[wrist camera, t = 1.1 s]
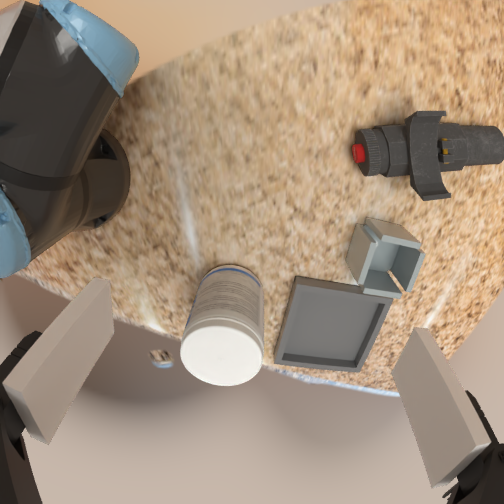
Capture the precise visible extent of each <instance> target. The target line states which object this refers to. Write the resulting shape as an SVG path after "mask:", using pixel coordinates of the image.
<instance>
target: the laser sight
mask: <svg viewBox="0 0 504 504" xmlns="http://www.w3.org/2000/svg"><path fill="white" fill-rule="evenodd" d="M442 116H446V111H416V112H415V113H413V114H412V115H411V116H409V117H408V118H406V119H405V124H398V125H383V126H374V129H360V130H358V131H357V132H356V138H355V139H356V140H355V143H356V144H355V145H353V146H352V153H353V158H354V161H355V162H356V163H359V167H360V169H361V172H362V173H363V175H364V176H374V175H378V174H381V175H383V176H385V177H395V176H404V175H410V185H411V187H412V188H413V189H414V190H415V191H416V192H417V194H418V195H419V196H420V197H421V199H422V200H423V201H429V200H437V199H445V198H451V193H448V191H447V190H446V188H445V186H444V184H443V182H442V177H441V173H440V172H446V171H458V170H462V169H463V167H464V166H472V165H487V164H500V163H501V162H502V161H503V160H504V136H503V134H502V133H501V131H500V130H499V129H498V128H497V127H495V126H464V125H463V126H460V125H459V124H456V123H439V121H440V119H441V117H442Z"/></svg>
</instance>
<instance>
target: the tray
mask: <svg viewBox="0 0 504 504" xmlns="http://www.w3.org/2000/svg"><path fill="white" fill-rule="evenodd" d="M392 301H393V298H390V297H383V296H377V295H370V294H364V293H363V292H362V290H361V288H360V286H355V285H349V284H343V283H337V282H331V281H325V280H319V279H313V278H307V277H301V276H295V280H294V283H293V287H292V291H291V295H290V298H289V302H288V306H287V309H286V313H285V316H284V320H283V324H282V327H281V331H280V334H279V338H278V341H277V345H276V348H275V351H274V364H280V365H287V366H296V367H304V368H313V369H323V370H334V371H346V372H360V370H361V368H362V366H363V364H364V362H365V360H366V358H367V356H368V354H369V352H370V350H371V348H372V346H373V344H374V342H375V340H376V338H377V335H378V333H379V331H380V329H381V327H382V324H383V322H384V320H385V318H386V315H387V313H388V311H389V308H390V306H391V304H392Z"/></svg>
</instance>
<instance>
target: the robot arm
mask: <svg viewBox="0 0 504 504" xmlns="http://www.w3.org/2000/svg"><path fill="white" fill-rule="evenodd" d="M39 3H40V5H35V4H32V3H29V2H26V1H24V0H20V1H18V2H16V3H14V4H12V5H10V6H8V7H6V8H4V9H2V10H0V278H6V277H9V276H10V275H12V274H14V273H16V272H17V271H19V270H21V269H24V268H25V267H27V266H28V264H29V262H31V261H32V260H33V259H35V258H36V257H37V256H39V255H40V254H41V253H43V252H44V251H45V250H47V249H48V248H49V247H51V246H52V245H53V244H55V243H56V242H57V241H59V240H60V239H62V238H63V237H64V236H66V235H67V234H69V233H70V232H72V231H85V230H92V229H95V228H98V227H100V226H102V225H104V224H105V223H107V222H108V221H109V220H111V219H112V218H113V217H114V216H116V214H117V213H118V212H119V211H120V210H121V208H122V207H123V205H124V203H125V201H126V198H127V195H128V192H129V186H130V169H129V164H128V160H127V157H126V154H125V152H124V150H123V148H122V147H121V145H120V144H119V142H118V141H117V140H116V139H115V138H114V137H113V136H112V135H111V134H110V133H109V132H107V131H106V130H104V129H102V128H103V126H104V125H105V123H106V121H107V119H108V117H109V115H110V114H111V112H112V110H113V108H114V107H115V105H116V103H117V101H118V100H119V98H122V97H123V95H124V92H123V90H124V89H125V87H126V85H127V83H128V81H129V80H130V77H131V76H132V74H133V73H134V71H135V69H136V67H137V65H138V63H139V52H138V49H137V47H136V46H135V45H134V44H133V43H132V42H131V41H130V40H129V39H128V38H127V37H125V36H124V35H123V34H121V33H120V32H119V31H117V30H116V29H115V28H113V27H112V26H111V25H109V24H108V23H106V22H105V21H103V20H102V19H100V18H98V17H97V16H96V15H94V14H92V13H91V12H89V11H87V10H86V9H84V8H82V7H79V6H78V5H77V4H75V3H73V2H71V1H69V0H40V1H39ZM113 334H114V325H113V313H112V301H111V287H110V280H106V279H101V278H97V277H94V278H93V279H92V280H91V281H90V282H89V283H88V284H87V285H86V286H85V287H84V288H83V290H82V291H81V292H80V293H79V294H78V295H77V296H76V297H75V298H74V299H73V300H72V301H71V302H70V303H69V305H68V306H67V307H66V308H65V309H64V310H63V311H62V312H61V313H60V315H59V316H58V317H57V318H56V319H55V320H54V321H53V322H52V324H51V325H50V326H49V327H48V328H47V329H46V330H45V331H44V333H40V332H38V331H34V332H33V333H31V334H29V335H27V336H26V337H24V338H23V339H22V341H21V342H20V343H19V344H18V345H17V348H15V349H14V350H13V351H12V352H11V355H9V356H8V357H7V358H6V359H5V360H4V361H3V363H2V364H1V365H0V504H42V501H41V498H40V495H39V492H38V489H37V486H36V483H35V480H34V476H33V473H32V469H31V466H30V462H29V458H28V455H27V451H26V447H25V442H24V439H23V436H22V434H21V433H22V432H23V430H24V428H26V429H27V431H28V433H29V434H30V436H31V437H33V438H35V439H37V440H39V441H41V442H43V443H45V444H47V445H49V443H50V442H51V440H52V438H53V436H54V434H55V432H56V430H57V429H58V427H59V425H60V423H61V421H62V419H63V418H64V416H65V414H66V412H67V411H68V409H69V407H70V405H71V404H72V402H73V400H74V398H75V396H76V395H77V393H78V391H79V390H80V388H81V386H82V385H83V383H84V381H85V380H86V378H87V376H88V374H89V373H90V371H91V370H92V368H93V366H94V365H95V363H96V361H97V360H98V358H99V356H100V355H101V353H102V352H103V350H104V348H105V347H106V345H107V344H108V342H109V340H110V339H111V337H112V336H113ZM391 374H392V376H393V379H394V381H395V384H396V386H397V389H398V391H399V394H400V397H401V399H402V402H403V404H404V407H405V410H406V412H407V415H408V418H409V421H410V424H411V426H412V429H413V432H414V435H415V437H416V441H417V444H418V447H419V450H420V452H421V456H422V459H423V462H424V465H425V468H426V471H427V474H428V478H429V481H430V484H431V487H432V488H435V487H440V486H444V485H447V484H448V483H450V482H451V481H452V480H453V479H454V478H455V477H456V476H457V479H458V483H457V484H456V485H454V486H453V487H452V488H451V489H450V490H448V491H447V492H446V493H445V494H444V495H443V498H445V497H446V496H448V495H449V494H450V493H451V495H450V497H449V498H448V499H447V500H448V502H447V504H504V444H499V442H498V441H497V438H496V437H495V434H494V432H493V430H492V428H491V427H490V424H489V423H488V421H487V419H486V417H484V413H483V411H482V410H481V409H480V408H481V407H480V406H479V404H478V402H477V400H476V398H475V397H474V396H473V395H472V394H471V393H470V392H469V391H465V390H464V388H463V387H462V385H461V383H460V381H459V379H458V378H457V376H456V374H455V373H454V371H453V369H452V367H451V366H450V364H449V362H448V361H447V359H446V357H445V356H444V354H443V352H442V351H441V349H440V347H439V346H438V344H437V343H436V341H435V339H434V338H433V336H432V335H431V333H430V331H429V330H428V328H417V327H414V329H413V331H412V333H411V335H410V337H409V339H408V341H407V343H406V345H405V347H404V349H403V351H402V353H401V355H400V357H399V359H398V361H397V363H396V365H395V367H394V369H393V370H392V372H391Z"/></svg>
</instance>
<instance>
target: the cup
mask: <svg viewBox="0 0 504 504" xmlns="http://www.w3.org/2000/svg"><path fill="white" fill-rule="evenodd" d="M365 223H366V224H365V225H363V226H362V225H361V224H357V223H356V226H355V230H354V233H353V236H352V240H351V243H350V247H349V250H348V253H347V256H346V262H347V264H348V266H349V268H350V270H351V272H352V274H353V276H354V278H355V280H356V282H357V284H359V286H360V288H361V290H362V292H363V293H364V294H370V295H377V296H383V297H390V298H397V299H400V298H401V296H402V293H401V291H400V290H399V288H398V287H397V285H396V284H395V283H394V281H393V280H392V278H391V277H390V275H389V274H388V273H387V271H388V270H391V272H392V273H393V274H394V276H395V277H396V279H397V280H398V281H399V283H400V284H401V286H402V287H403V288H404V290H405V291H406V292H411V290H412V288H413V285H414V283H415V281H416V278H417V276H418V273H419V270H420V268H421V265H422V263H423V260H424V257H425V253H424V252H423V251H422V250H421V249H420V246H421V243H420V242H419V241H418V240H417V239H416V238H415V237H414V236H413V235H411V234H410V233H409V232H408V231H407V230H406V229H405V228H404V227H402V226H401V225H398V224H394V223H390V222H386V221H381V220H377V219H373V218H369V217H366V220H365Z"/></svg>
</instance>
